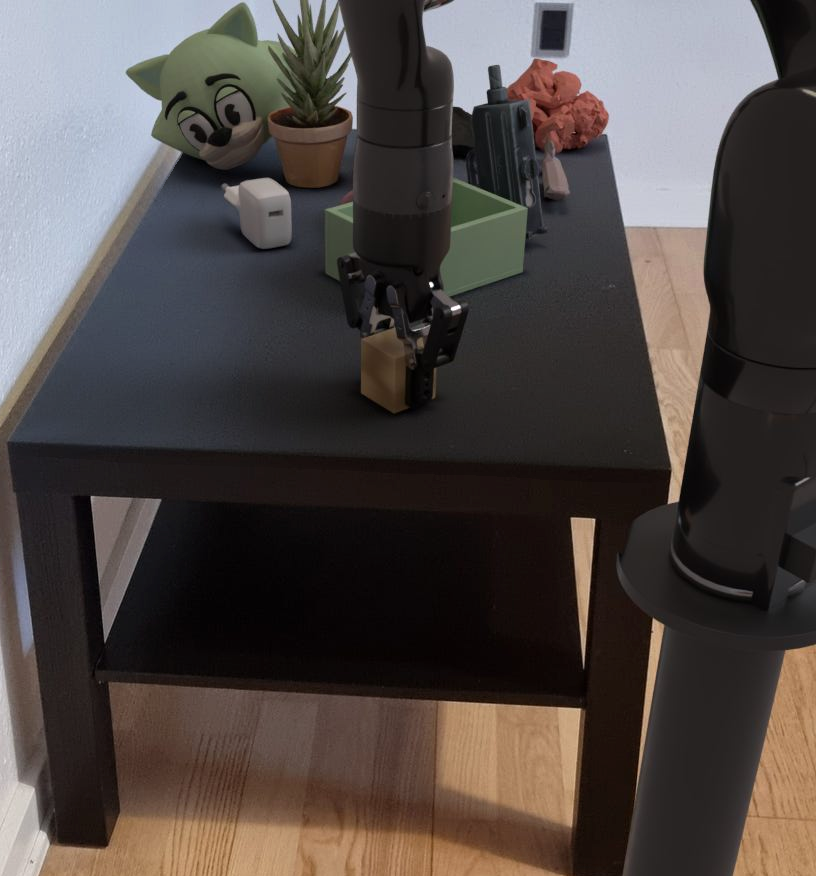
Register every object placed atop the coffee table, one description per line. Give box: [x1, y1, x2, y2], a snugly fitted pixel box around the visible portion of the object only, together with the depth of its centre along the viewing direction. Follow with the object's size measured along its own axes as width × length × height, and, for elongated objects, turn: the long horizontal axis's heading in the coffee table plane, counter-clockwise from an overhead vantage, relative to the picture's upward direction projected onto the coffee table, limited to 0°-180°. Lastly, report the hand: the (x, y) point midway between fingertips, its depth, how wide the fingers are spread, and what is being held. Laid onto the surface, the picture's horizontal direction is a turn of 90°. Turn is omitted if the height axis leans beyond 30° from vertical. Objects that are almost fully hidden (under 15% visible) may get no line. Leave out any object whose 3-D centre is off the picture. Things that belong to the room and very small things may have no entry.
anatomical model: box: [506, 58, 610, 156], centre depth 159 cm, size 10×12×15 cm
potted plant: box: [268, 0, 354, 189], centre depth 147 cm, size 10×10×25 cm
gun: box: [465, 64, 549, 240], centre depth 138 cm, size 3×17×15 cm
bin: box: [324, 177, 528, 298], centre depth 130 cm, size 12×16×7 cm
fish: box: [541, 132, 571, 201], centre depth 149 cm, size 3×14×5 cm, turn 179°
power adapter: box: [221, 177, 293, 250], centre depth 139 cm, size 11×5×6 cm, turn 25°
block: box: [360, 327, 437, 414], centre depth 109 cm, size 4×4×5 cm
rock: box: [452, 106, 474, 156], centre depth 161 cm, size 9×7×5 cm
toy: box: [125, 1, 298, 171], centre depth 154 cm, size 20×19×15 cm
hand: (397, 392), depth 110 cm, fingers closed on block, 4 cm apart
